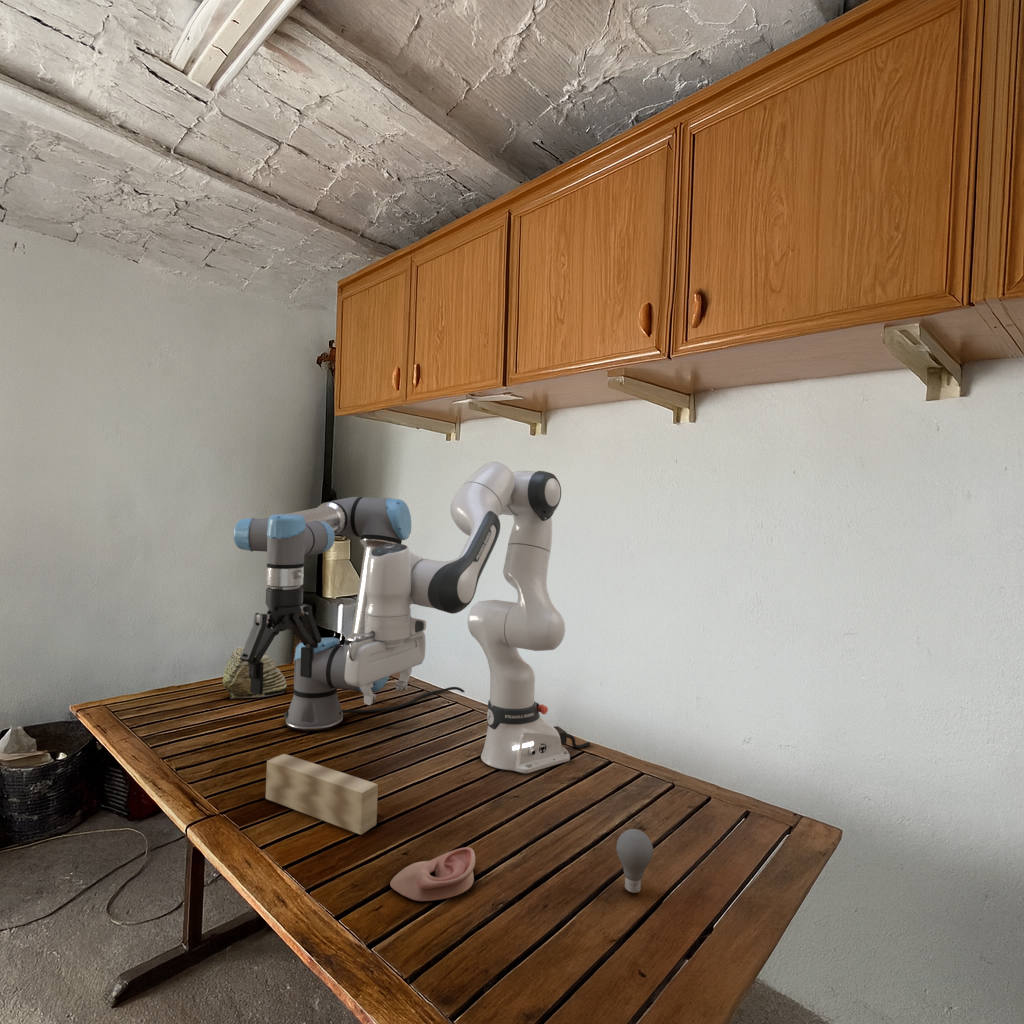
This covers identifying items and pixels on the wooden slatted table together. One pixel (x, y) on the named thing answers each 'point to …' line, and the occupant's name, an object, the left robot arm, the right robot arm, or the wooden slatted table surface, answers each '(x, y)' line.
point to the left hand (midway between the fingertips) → (282, 684)
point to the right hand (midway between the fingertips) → (386, 696)
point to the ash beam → (322, 793)
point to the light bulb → (634, 857)
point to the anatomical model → (437, 876)
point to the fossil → (240, 682)
